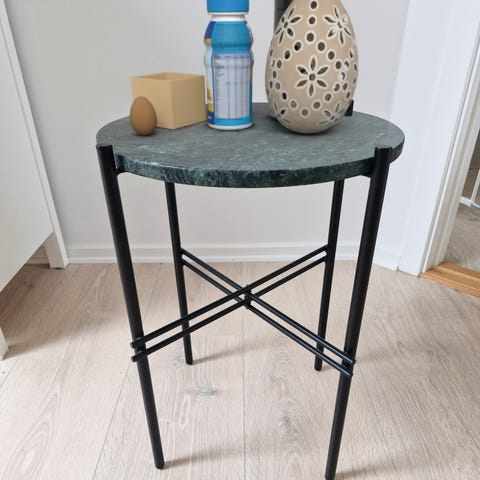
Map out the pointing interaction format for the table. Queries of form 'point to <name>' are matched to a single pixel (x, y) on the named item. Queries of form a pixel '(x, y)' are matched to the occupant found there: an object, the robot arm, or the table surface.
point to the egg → (143, 116)
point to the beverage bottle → (229, 65)
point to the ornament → (313, 51)
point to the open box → (173, 97)
